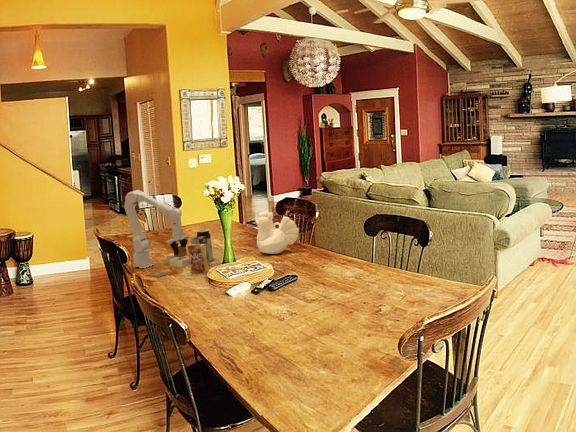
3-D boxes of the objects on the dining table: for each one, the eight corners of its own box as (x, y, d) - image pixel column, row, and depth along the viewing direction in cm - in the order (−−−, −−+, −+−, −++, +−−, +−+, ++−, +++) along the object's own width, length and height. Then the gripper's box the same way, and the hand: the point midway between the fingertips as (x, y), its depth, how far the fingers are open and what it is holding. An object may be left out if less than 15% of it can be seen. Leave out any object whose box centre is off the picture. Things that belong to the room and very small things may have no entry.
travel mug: (196, 262, 312) (193, 231, 309) (203, 258, 319) (200, 228, 316) (208, 262, 309) (205, 231, 306) (215, 258, 316) (212, 228, 313)
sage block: (167, 264, 315) (166, 255, 314) (171, 261, 319) (170, 253, 318) (175, 263, 313) (174, 255, 312) (179, 261, 318) (178, 253, 317)
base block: (170, 267, 308) (169, 260, 307) (180, 262, 316) (179, 256, 315) (182, 267, 303) (181, 261, 303) (192, 263, 311) (192, 256, 310)
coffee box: (204, 268, 298) (201, 239, 295) (193, 268, 299) (189, 239, 296) (210, 263, 307) (206, 235, 304) (199, 263, 308) (195, 236, 305)
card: (145, 275, 292) (145, 274, 292) (155, 272, 298) (155, 271, 298) (158, 277, 287) (158, 276, 287) (168, 273, 292) (168, 273, 292)
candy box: (190, 273, 290) (186, 245, 287) (193, 270, 294) (190, 243, 291) (205, 273, 287) (202, 245, 284) (208, 270, 291) (205, 243, 288)
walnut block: (174, 256, 308) (173, 248, 307) (180, 254, 312) (179, 246, 311) (180, 257, 305) (179, 248, 304) (186, 255, 309) (185, 246, 308)
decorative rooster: (253, 256, 314) (249, 214, 310) (265, 249, 328) (261, 209, 324) (293, 257, 304) (289, 213, 300) (303, 250, 318) (299, 208, 314)
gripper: (172, 233, 298) (175, 257, 300) (191, 227, 309) (194, 250, 312) (163, 232, 302) (166, 256, 304) (182, 227, 313) (185, 250, 316)
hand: (180, 253), depth 308 cm, fingers closed on walnut block, 5 cm apart
